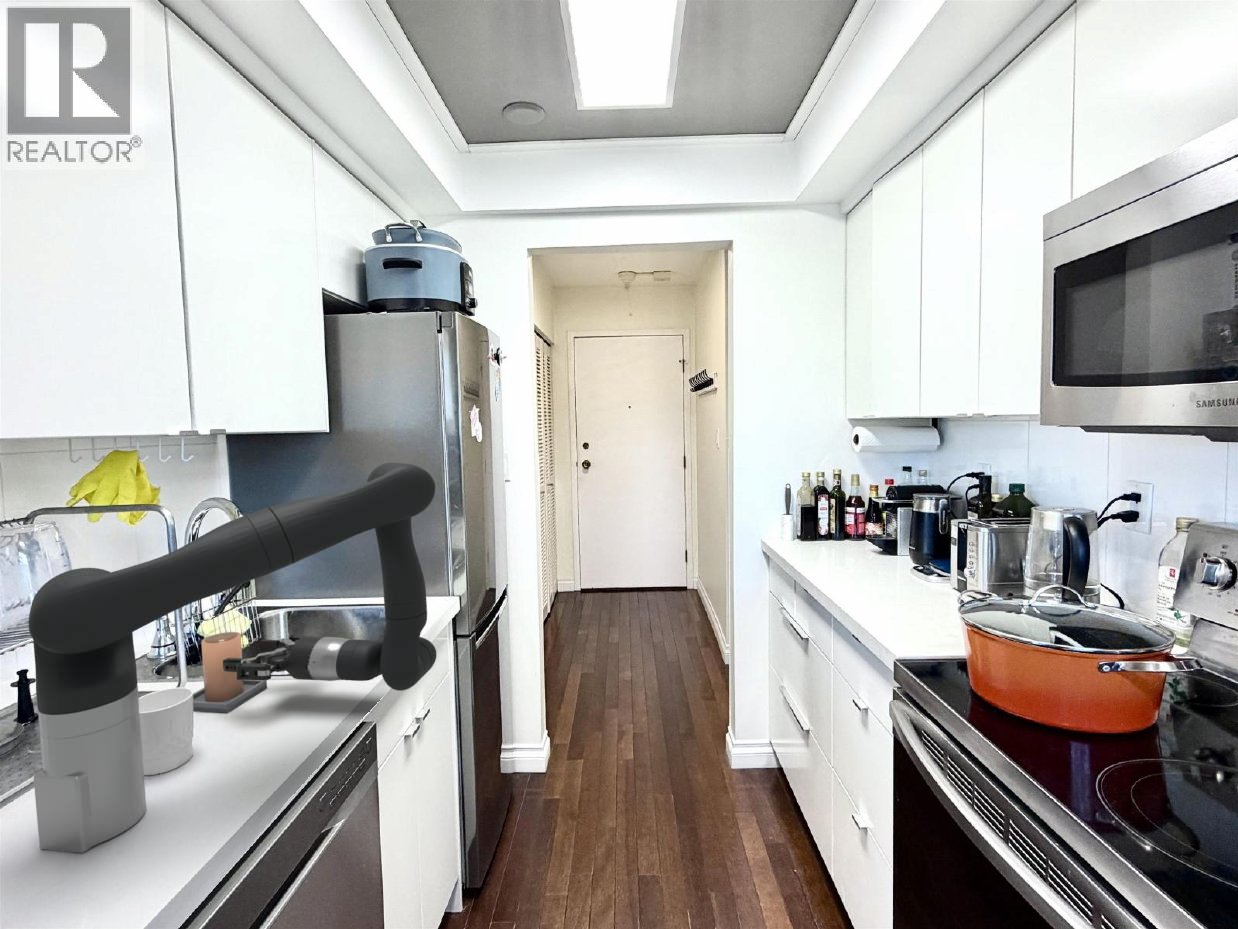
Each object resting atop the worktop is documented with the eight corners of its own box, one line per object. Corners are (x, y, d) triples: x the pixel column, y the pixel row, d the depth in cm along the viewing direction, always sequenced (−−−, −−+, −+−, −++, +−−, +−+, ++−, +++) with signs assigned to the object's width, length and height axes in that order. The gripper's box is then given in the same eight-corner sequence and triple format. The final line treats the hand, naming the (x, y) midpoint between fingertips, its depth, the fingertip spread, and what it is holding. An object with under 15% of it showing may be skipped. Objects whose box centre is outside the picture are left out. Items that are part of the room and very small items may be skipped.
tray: (227, 713, 100) (226, 704, 100) (179, 710, 101) (178, 701, 101) (267, 688, 109) (266, 680, 109) (222, 685, 111) (222, 677, 110)
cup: (226, 703, 102) (222, 644, 101) (196, 701, 103) (192, 643, 102) (251, 688, 108) (248, 632, 107) (223, 686, 108) (220, 631, 108)
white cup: (139, 785, 80) (134, 718, 79) (124, 765, 85) (120, 702, 84) (204, 759, 86) (200, 697, 86) (187, 741, 91) (184, 682, 90)
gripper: (346, 624, 109) (269, 621, 111) (296, 654, 95) (209, 650, 97) (348, 661, 110) (271, 658, 111) (298, 697, 95) (212, 692, 97)
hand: (243, 654), depth 104 cm, fingers open, 8 cm apart
